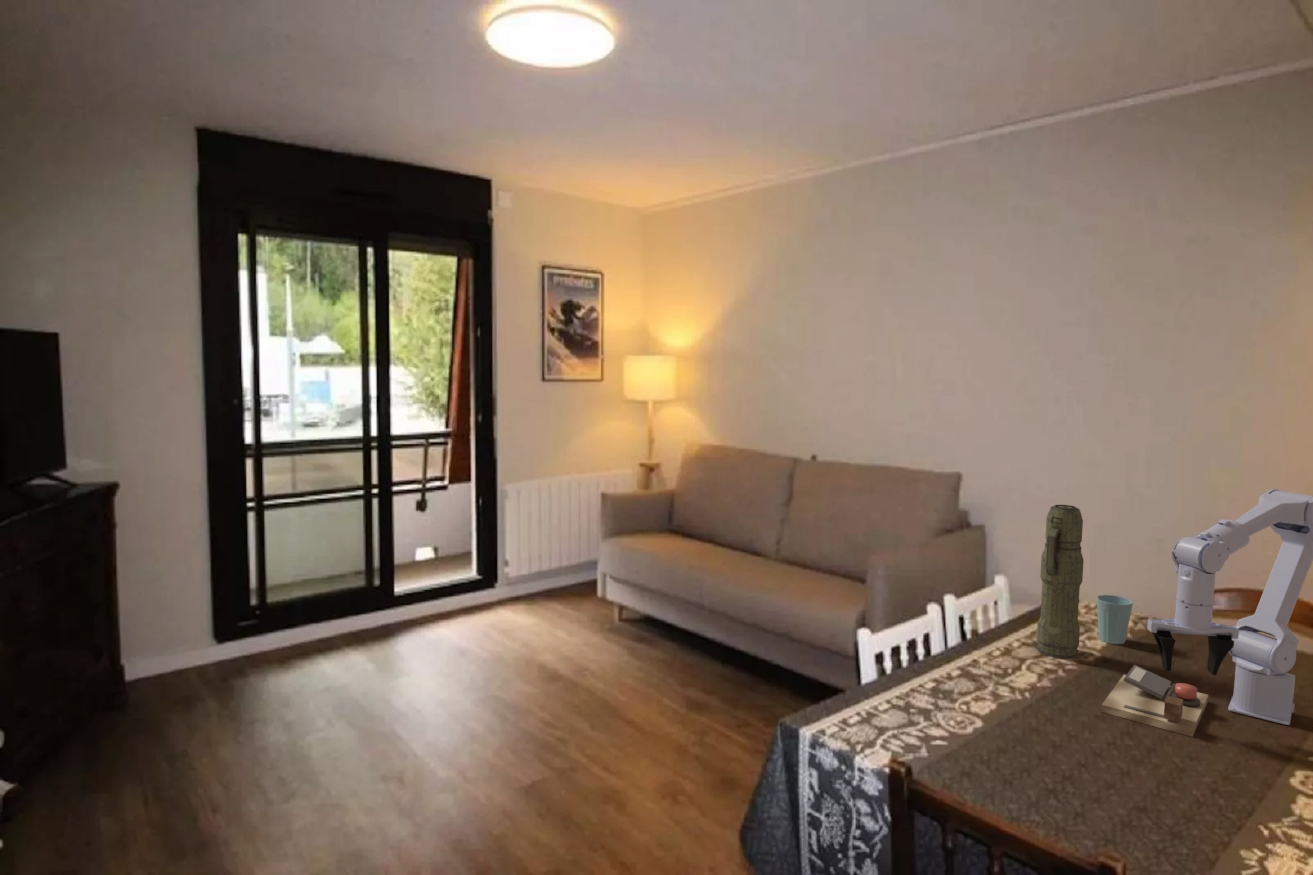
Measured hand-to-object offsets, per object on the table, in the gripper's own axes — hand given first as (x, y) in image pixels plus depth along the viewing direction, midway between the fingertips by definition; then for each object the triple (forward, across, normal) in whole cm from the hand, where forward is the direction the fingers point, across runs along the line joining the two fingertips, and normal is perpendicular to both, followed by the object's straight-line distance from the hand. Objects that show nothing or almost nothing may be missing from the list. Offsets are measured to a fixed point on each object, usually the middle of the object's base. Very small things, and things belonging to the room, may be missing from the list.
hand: (1189, 670), depth 147 cm
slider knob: (+9, +3, +2) cm, 10 cm away
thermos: (+11, +14, -33) cm, 38 cm away
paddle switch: (+7, +3, -11) cm, 14 cm away
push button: (+8, -2, -7) cm, 10 cm away
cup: (+11, -1, -44) cm, 46 cm away
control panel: (+10, +3, -6) cm, 13 cm away
